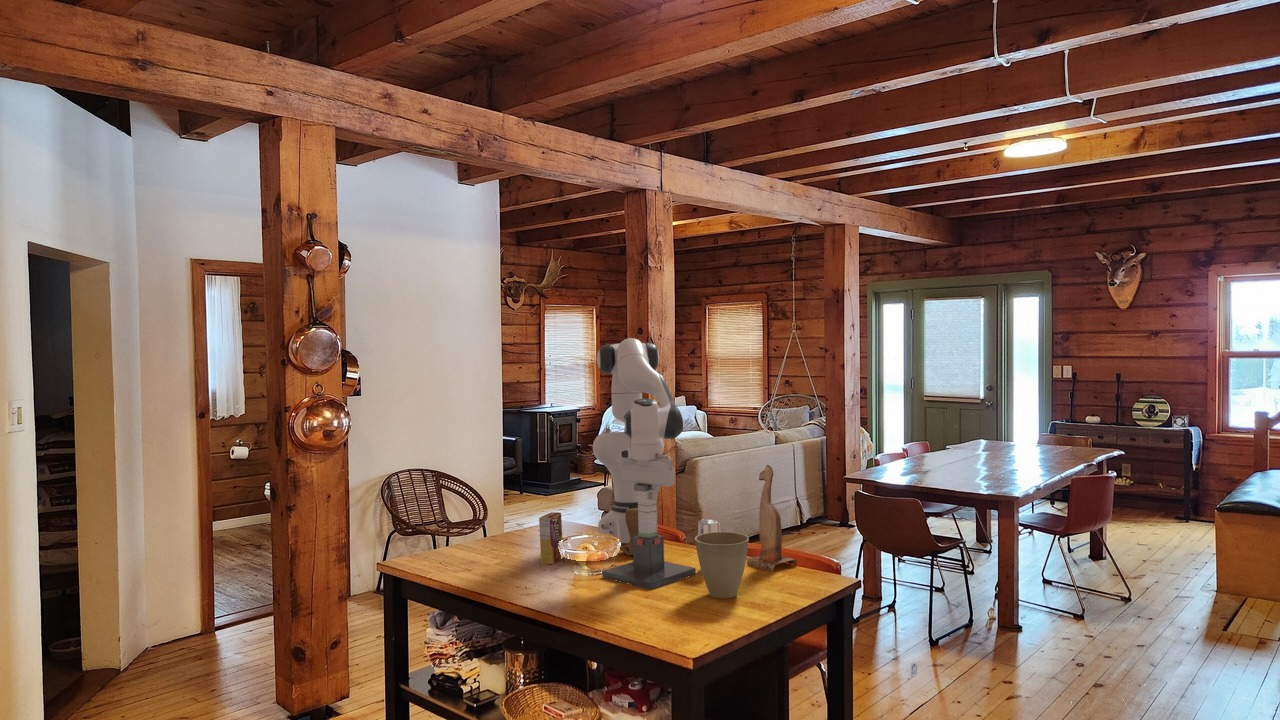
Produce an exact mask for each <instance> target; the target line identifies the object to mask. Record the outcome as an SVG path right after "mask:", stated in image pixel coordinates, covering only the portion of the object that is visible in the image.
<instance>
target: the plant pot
mask: <svg viewBox="0 0 1280 720" xmlns="http://www.w3.org/2000/svg"><path fill="white" fill-rule="evenodd" d="M749 539H750V538H749V536H748V535H746V534H743V533H738V532H732V531H721V532H710V533H704V534H700V535H698V534H697V536H695V537H694V543H695V547H696V553H697V558H698V559H697V560H698V563H699V567H701V570H700V571H701V573H702V577H703V581H704V583H705V586H706V588H707V591H708V593H709V596H710V597H711V598H715V599H721V600H724V599H725V600H726V599H733V598H735V597H736V596H737V595H738V593H739V589H740V586H741V582H742V579H743V575H744V572H745V568H746V564H747V557H748V549H749V541H750V540H749Z"/></svg>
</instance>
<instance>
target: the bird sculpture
mask: <svg viewBox="0 0 1280 720" xmlns="http://www.w3.org/2000/svg"><path fill="white" fill-rule="evenodd" d="M773 478H774V470H773V467H772V466H770V465H769V464H766V465H765V468H764V470H762V471H760V473H759V477H758V479H759V481H765V482H764V485H763V488H762V491H761V497H760V503H759V514H758V515H759V516H758V517H759V518H758V519H759V541H760V545H761V547H760V551H759V555H758V556H753V557H749V558H747V559H746V565H747V566H750V567H755V568H757V569H761V570H766V571H767V572H771V571H772V572H774V569H775V567H776V565H779V564H782V563H786V564H790V565H794V566H798V561H797V559H795V558H792V557H788V556H787V557H786V556H783V554H782V553H783V549H782V548H783V546H782V545H783V544H782V543H783V542H782V541H783V540H782V539H783V534H782V532H783V531H782V530H783V529H782V518H781V514H780V513H779V511H778V509H777V508H776V506H775V505H774V504H773V502H772V484H773ZM772 572H771V573H772Z"/></svg>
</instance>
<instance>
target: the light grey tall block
mask: <svg viewBox="0 0 1280 720" xmlns="http://www.w3.org/2000/svg"><path fill="white" fill-rule="evenodd" d="M634 490H635V491H638V524H639V537H640V538H645V539H651V538H655V537H657V535H659V534H658V504H657V502H658V501H657V500H658V499H657V500H651V499H650V494H652V492H653V490H654V489H653V488H652V485H649V484H636V485H634Z"/></svg>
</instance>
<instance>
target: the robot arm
mask: <svg viewBox="0 0 1280 720" xmlns="http://www.w3.org/2000/svg"><path fill="white" fill-rule="evenodd" d="M596 363H597V366H598V368H599V371H600V372H601V373H603V374H606V375H611V374H612V375H611V376H612V378H611V413H612V416H613V417H614V418H615V419H616V420H618V421H620V422H621V423H624V431H615V432H614V431H612V432H606V433H601V434H598V435H597V436H596V437H595V439H594V441H593V444H592V453H593V455H594V457H595V458H596V460H597V461H599V462H600V463H602V465H604V466H605V467H606V469H607V470H608V472H609V473H610V475H611V477H612V483H613V493H614V494H613V495H614V498H613V499H614V500H613V501H609V502H608V503H609V504H608V505H609V506H611V508H610V511H608V512H607V513H606V514H605V515H604V516H602V517H601V519H599V521H598V526H597V529H598V530H597V532H598V533H604V534H609V535H612V536H614V537H617V538H619V539H620V540H621V541H622V543H621V544H628V543H629V542H630V535H629V531H628V527H627V524H626V520H625V513H626V510H627V509H634V508H638V491H635V490H634V485H636V484H649V485H652V488H653V489H654V490H653V492H652V494H650V499H651V500H658V494H659V492H660V490H661V487H664V488H665V487H666V488H668V487H672V486H675V485H674V484H675V483H676V477H675V476H676V475H675V468H674V464H673V459H672V457H670V455H668V454H663V453H664V448H665V444H664V440H663V439H665V440H675V439H676V438H677V437H678V436H680V435H681V434H682V432H683V430H684V418H683V415H682V413H681V411H680V409H679V407H678V406H677V405H676V403H675V400H674V398H673V396H672V393H671V391H670V387H668V384H667V381H666V380H665V378H664V376H663V374H661V373H660V372H658V371H656V370H657V368H658V366H659V363H660V352H659V350H658V347H657V346H656V345H655V344H654V343H651V342H642V341H641V340H639V339H637V338H633V337H629V338H625V339H624V340H622V341H620V343H613V344H610V343H608V344H604V345H602V346H600V348H599V349H598V351H597V354H596ZM644 393H645V394H648V395H650V396H653V397H655V398H656V400H655V399H652V398H643V394H644ZM658 404H659V406H660V407H659V406H658Z"/></svg>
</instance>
